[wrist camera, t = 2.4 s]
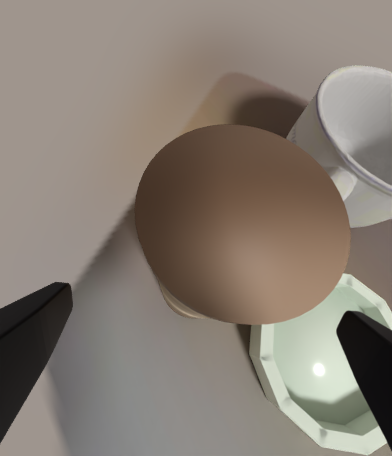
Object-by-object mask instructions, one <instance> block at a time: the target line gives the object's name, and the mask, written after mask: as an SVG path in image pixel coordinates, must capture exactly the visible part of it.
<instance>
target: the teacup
mask: <svg viewBox="0 0 392 456" xmlns="http://www.w3.org/2000/svg"><path fill="white" fill-rule="evenodd" d="M286 139H287V140H289V141H291V142H292V143H294V144H296V145H297V146H299V147H300V148H301V149H303V150H304V151H305V152H307V153H308V154H309V155H310V156H311V157H313V158H314V159H315V160H316V161H317V162H318V163H319V164H320V165H321V166H322V168H323V169H324V170H325V171H326V172H327V174H328V175H329V176H330V178H331V179H332V180H333V182H334V184H335V185H336V187H337V189H338V191H339V192H340V195H341V197H342V199H343V201H344V204H345V207H346V210H347V214H348V218H349V224H350V228H354V227H363V226H368V225H372V224H376V223H379V222H382V221H385V220H388V219H391V218H392V72H390V71H386V70H384V69H380V68H375V67H369V66H360V65H357V66H348V67H343V68H340V69H337V70H335V71H333V72H331V73H330V74H329V75H328V76H327V77H325V79H324V80H323V82H322V83H321V84H320V86H319V88H318V90H317V93H316V95H315V96H314V97H313V99H312V100H311V101H310V103H309V104H308V106H307V107H306V108H305V110H304V111H303V113H302V114H301V116H300V117H299V118H298V120H297V121H296V123H295V124H294V126H293V128H292V129H291V131H290V132H289V134H288V136H287V138H286Z"/></svg>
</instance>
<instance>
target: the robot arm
mask: <svg viewBox="0 0 392 456" xmlns="http://www.w3.org/2000/svg"><path fill="white" fill-rule="evenodd" d="M72 307H73V301H72V291H71V286H70V284H69V283H62V282H55V283H52V284H50V285H48V286H46V287H44V288H42V289H40V290H38V291H36V292H34V293H32V294H30V295H28V296H26V297H23V298H21V299H20V300H17V301H15V302H13V303H11V304H9V305H7V306H5V307H3V308H1V309H0V443H1V441H2V440H3V438H4V436H5V435H6V433H7V431H8V429H9V427H10V426H11V424H12V423H13V421H14V419H15V417H16V415H17V414H18V412H19V411H20V409H21V407H22V405H23V404H24V402H25V400H26V399H27V397H28V395H29V393H30V392H31V390H32V388H33V386H34V385H35V383H36V382H37V380H38V378H39V376H40V375H41V373H42V371H43V370H44V368H45V366H46V364H47V362H48V361H49V358H50V356H51V354H52V352H53V350H54V348H55V346H56V344H57V342H58V339H59V337H60V335H61V333H62V331H63V329H64V326H65V324H66V322H67V320H68V318H69V316H70V313H71V311H72ZM336 334H337V337H338V339H339V342H340V344H341V347H342V349H343V351H344V354H345V356H346V359H347V361H348V363H349V366H350V368H351V371H352V373H353V375H354V378H355V380H356V382H357V384H358V386H359V388H360V390H361V393H362V394H363V396H364V398H365V400H366V402H367V404H368V406H369V408H370V410H371V412H372V414H373V416H374V418H375V420H376V422H377V424H378V425H379V427H380V429H381V431H382V433H383V435H384V437H385V439H386V441H387V443H388V445H389V447H390V449H391V451H392V330H391V329H389V328H387V327H386V326H384V325H382V324H380V323H379V322H377V321H375V320H374V319H372V318H370V317H369V316H367V315H365V314H364V313H362V312H359V311H351V310H348V311H346V312H345V313H344V314H343V316H342V318H341V320H340V322H339V324H338V326H337V328H336Z"/></svg>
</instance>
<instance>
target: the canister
mask: <svg viewBox="0 0 392 456" xmlns="http://www.w3.org/2000/svg"><path fill="white" fill-rule="evenodd" d="M135 222H136V228H137V233H138V238H139V241H140V243H141V246H142V249H143V251H144V254H145V256H146V259H147V261H148V263H149V265H150V267H151V269H152V271H153V273H154V274H155V276H156V277H157V278H158V281H159V284H160V287H161V290H162V293H163V296H164V299H165V301H166V303H167V304H168V305H169V307H170V308H171V309H172V310H173V311H175V312H176V313H177V314H179V315H181V316H184V317H187V318H212V319H216V320H219V321H223V322H229V323H237V324H248V325H262V324H273V323H279V322H284V321H287V320H290V319H293V318H296V317H299V316H301V315H303V314H304V313H306V312H308V311H310V310H312V309H313V308H315V307H316V306H317V305H318V304H320V303H321V302H322V301H324V300H325V298H326V297H327V296H328V295H329V294H330V293H331V292H332V291H333V290H334V288H335V287H336V285H337V283H338V282H339V280H340V279H341V277H342V274H343V272H344V270H345V268H346V265H347V261H348V257H349V252H350V243H351V235H350V224H349V218H348V214H347V210H346V207H345V204H344V201H343V199H342V197H341V195H340V192H339V191H338V189H337V187H336V185H335V184H334V182H333V180H332V179H331V178H330V176H329V175H328V174H327V172H326V171H325V170H324V169H323V168H322V166H321V165H320V164H319V163H318V162H317V161H316V160H315V159H314V158H313V157H311V156H310V155H309V154H308V153H307V152H305V151H304V150H303V149H301V148H300V147H299V146H297V145H296V144H294V143H292V142H291V141H289V140H287V139H285V138H283V137H281V136H279V135H277V134H274V133H272V132H269V131H266V130H263V129H259V128H255V127H250V126H245V125H233V124H225V125H213V126H207V127H203V128H199V129H195V130H193V131H190V132H188V133H185V134H183V135H181V136H179V137H178V138H176V139H174V140H173V141H171V142H170V143H168V144H167V145H166V146H165V147H164V148H163V149H161V150H160V151H159V152H158V153H157V154H156V156H155V157H154V158H153V159H152V160H151V162H150V163H149V165H148V166H147V168H146V170H145V171H144V173H143V176H142V178H141V181H140V183H139V186H138V190H137V194H136V202H135Z"/></svg>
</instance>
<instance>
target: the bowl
mask: <svg viewBox="0 0 392 456" xmlns="http://www.w3.org/2000/svg"><path fill="white" fill-rule="evenodd" d="M348 310H351V311H359V312H362V313H364V314H365V315H367V316H369V317H370V318H372V319H374V320H375V321H377V322H379V323H380V324H382V325H384V326H386V327H387V328H389V329H391V330H392V312H391V310H390V309H389V307H388V305H387V304H386V302H385V300H384V299H382V298H381V297H379V296H378V295H377V294H375V293H374V292H373V291H371V290H370V289H369V288H368V287H366V286H365V285H364V284H362V283H361V282H360V281H358V280H357V279H356V278H354V277H353V276H352V275H350V274H344V273H343V274H342V277H341V279H340V280H339V282H338V283H337V285H336V287H335V288H334V290H333V291H332V292H331V293H330V294H329V295H328V296H327V297H326V298H325V300H324V301H322V302H321V303H320V304H318V305H317V306H316V307H315V308H313V309H312V310H310V311H308V312H306V313H304V314H303V315H301V316H299V317H296V318H293V319H290V320H287V321H284V322H279V323H273V324H262V325H251V335H250V349H249V355H250V357H251V359H252V362H253V365H254V367H255V370H256V372H257V375H258V377H259V380H260V383H261V385H262V388H263V390H264V393H265V395H266V398H267V399H268V400H269V401H270V402H271V403H273V404H274V405H275V406H276V407H277V408H278V409H279V410H280V411H281V412H283V413H284V414H285V415H286V416H287V417H288V418H289V419H290V420H291V421H292V422H293V423H294V424H295V425H297V426H298V427H299V428H300V430H301V431H302V432H304V433H305V434H306V435H307V436H308V437H309V438H311V439H312V440H313V441H314V442H315V443H316V444H317V445H319V446H320V447H325V448H330V449H336V450H342V451H347V452H353V453H359V454H364V455H367V456H368V455H369V454H371V453H372V452H374V451H375V450H377V449H378V448H380V447H381V446H383V445H384V444H386V443H387V441H386V439H385V437H384V435H383V433H382V431H381V429H380V427H379V425H378V424H377V422H376V420H375V418H374V416H373V414H372V412H371V410H370V408H369V406H368V404H367V402H366V400H365V398H364V396H363V394H362V393H361V390H360V388H359V386H358V384H357V382H356V380H355V378H354V375H353V373H352V371H351V368H350V366H349V363H348V361H347V359H346V356H345V354H344V351H343V349H342V347H341V344H340V342H339V339H338V337H337V334H336V328H337V326H338V324H339V322H340V320H341V318H342V316H343V314H344V313H345V312H346V311H348Z"/></svg>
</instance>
